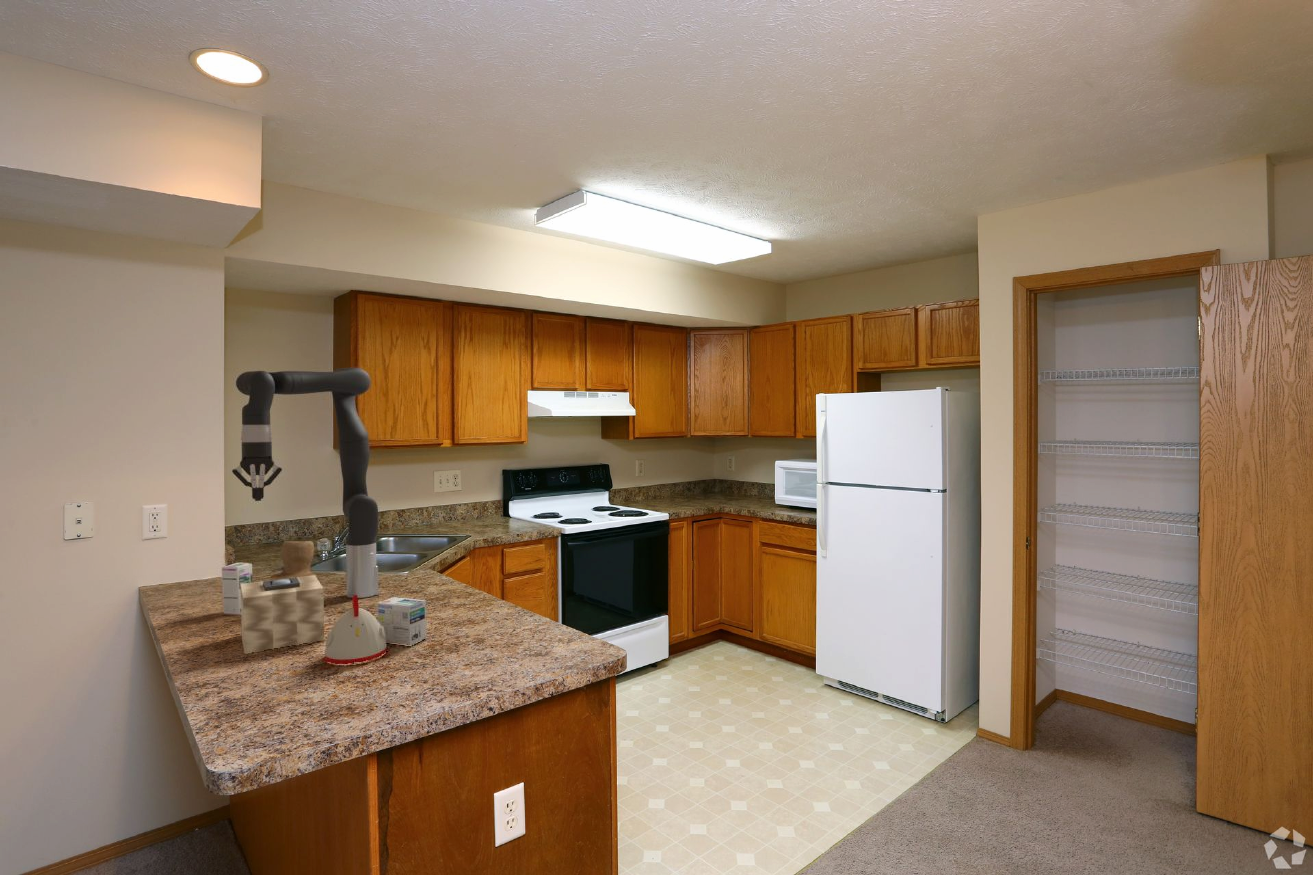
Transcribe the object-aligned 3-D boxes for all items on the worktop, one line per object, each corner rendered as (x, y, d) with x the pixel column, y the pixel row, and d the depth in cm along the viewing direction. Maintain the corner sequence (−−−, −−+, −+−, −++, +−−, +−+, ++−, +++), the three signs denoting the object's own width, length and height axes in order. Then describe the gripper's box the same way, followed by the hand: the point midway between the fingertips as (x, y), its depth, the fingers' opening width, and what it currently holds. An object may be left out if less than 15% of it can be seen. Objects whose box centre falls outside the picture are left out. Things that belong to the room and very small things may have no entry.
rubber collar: (296, 580, 186) (296, 577, 186) (299, 586, 179) (299, 582, 179) (263, 584, 182) (263, 581, 182) (265, 591, 175) (265, 587, 175)
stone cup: (316, 576, 253) (315, 536, 253) (318, 582, 243) (317, 540, 243) (269, 581, 246) (268, 540, 245) (269, 588, 235) (268, 545, 235)
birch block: (315, 623, 193) (314, 575, 193) (324, 640, 178) (323, 587, 178) (241, 634, 184) (240, 583, 183) (244, 653, 169) (243, 598, 168)
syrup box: (239, 614, 203) (238, 566, 202) (222, 613, 204) (221, 565, 204) (254, 609, 208) (253, 562, 208) (237, 608, 210) (236, 562, 209)
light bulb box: (427, 639, 179) (427, 599, 179) (410, 647, 173) (410, 605, 172) (394, 635, 183) (393, 595, 182) (376, 643, 176) (375, 602, 176)
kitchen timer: (325, 670, 158) (324, 606, 157) (324, 652, 170) (323, 592, 169) (389, 660, 164) (388, 598, 164) (383, 643, 176) (382, 586, 176)
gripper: (281, 439, 202) (282, 497, 202) (229, 440, 195) (230, 501, 195) (284, 440, 196) (285, 500, 196) (229, 441, 188) (231, 503, 189)
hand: (257, 500), depth 195 cm, fingers closed
